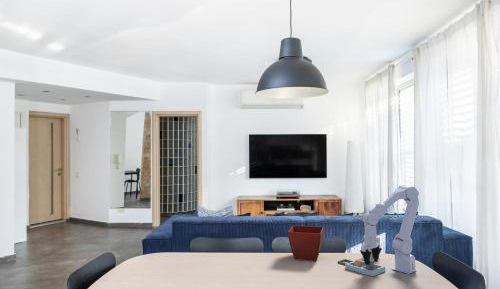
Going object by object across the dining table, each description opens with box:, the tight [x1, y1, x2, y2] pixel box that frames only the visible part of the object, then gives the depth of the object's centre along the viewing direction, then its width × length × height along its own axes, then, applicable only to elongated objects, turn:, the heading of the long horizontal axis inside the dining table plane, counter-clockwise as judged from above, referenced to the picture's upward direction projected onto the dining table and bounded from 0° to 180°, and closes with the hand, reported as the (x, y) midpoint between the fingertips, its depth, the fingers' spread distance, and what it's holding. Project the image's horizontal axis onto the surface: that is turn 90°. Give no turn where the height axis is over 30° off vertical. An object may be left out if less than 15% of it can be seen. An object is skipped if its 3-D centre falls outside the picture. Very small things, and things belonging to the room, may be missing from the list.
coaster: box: [337, 258, 354, 266], centre depth 195 cm, size 7×7×1 cm
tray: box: [344, 260, 386, 277], centre depth 183 cm, size 16×12×2 cm
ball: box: [354, 258, 363, 268], centre depth 186 cm, size 4×4×4 cm
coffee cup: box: [363, 234, 381, 258], centre depth 208 cm, size 9×9×12 cm
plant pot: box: [287, 225, 324, 262], centre depth 207 cm, size 19×19×17 cm
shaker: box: [366, 257, 375, 271], centre depth 181 cm, size 4×4×6 cm
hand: (371, 263), depth 180 cm, fingers open, 7 cm apart
